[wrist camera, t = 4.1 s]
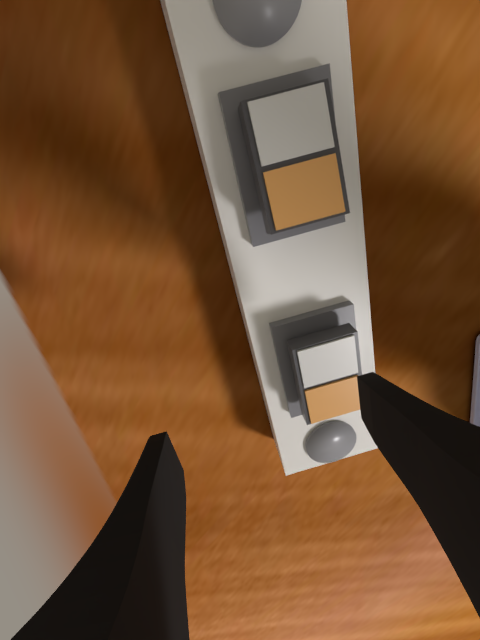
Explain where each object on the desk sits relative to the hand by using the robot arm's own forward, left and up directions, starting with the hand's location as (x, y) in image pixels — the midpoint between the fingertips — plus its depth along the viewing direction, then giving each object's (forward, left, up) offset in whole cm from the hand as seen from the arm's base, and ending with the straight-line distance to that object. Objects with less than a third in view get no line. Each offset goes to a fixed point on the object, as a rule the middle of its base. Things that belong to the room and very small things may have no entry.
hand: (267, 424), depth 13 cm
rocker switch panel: (+3, -3, -8) cm, 9 cm away
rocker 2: (-1, -3, -4) cm, 5 cm away
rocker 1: (+8, -3, -4) cm, 10 cm away
